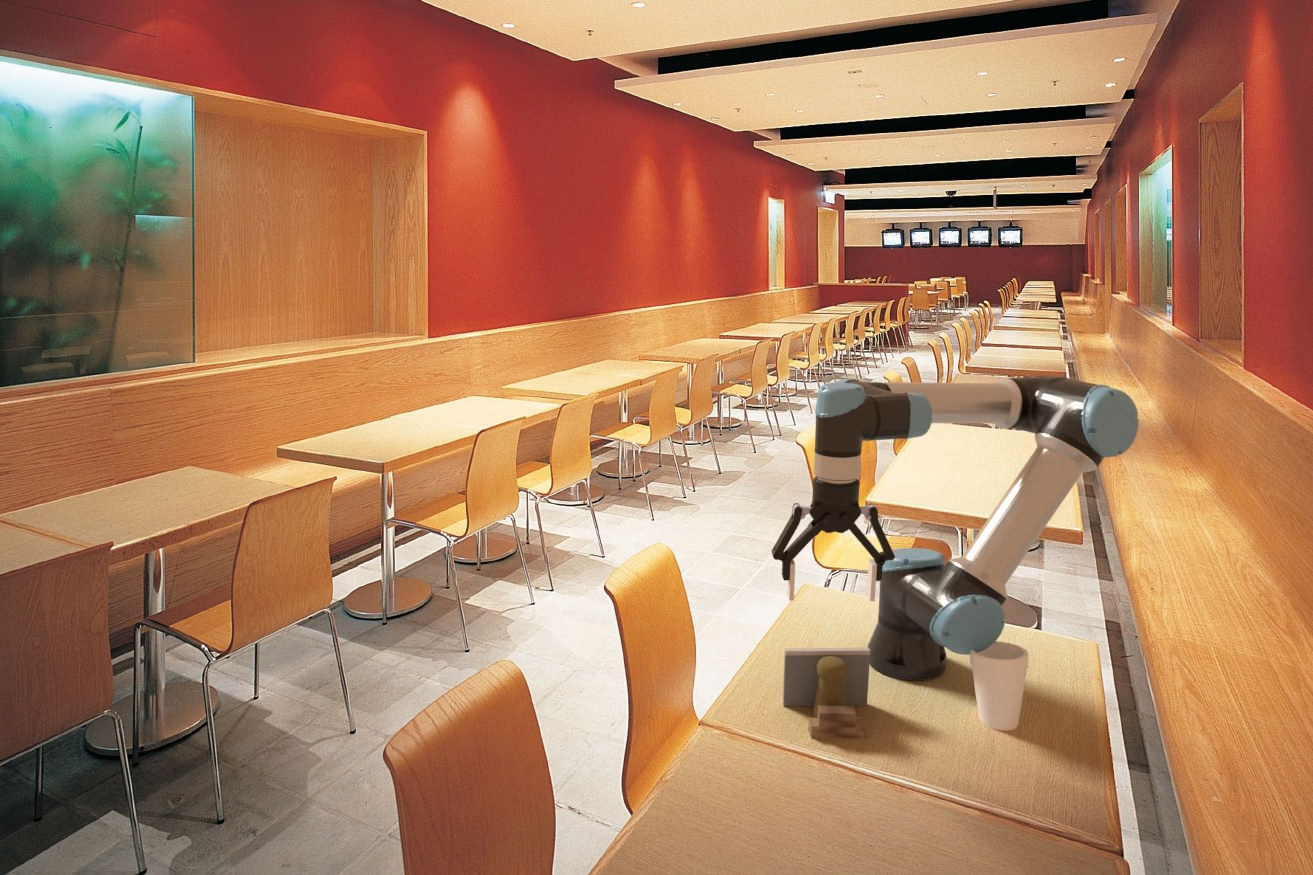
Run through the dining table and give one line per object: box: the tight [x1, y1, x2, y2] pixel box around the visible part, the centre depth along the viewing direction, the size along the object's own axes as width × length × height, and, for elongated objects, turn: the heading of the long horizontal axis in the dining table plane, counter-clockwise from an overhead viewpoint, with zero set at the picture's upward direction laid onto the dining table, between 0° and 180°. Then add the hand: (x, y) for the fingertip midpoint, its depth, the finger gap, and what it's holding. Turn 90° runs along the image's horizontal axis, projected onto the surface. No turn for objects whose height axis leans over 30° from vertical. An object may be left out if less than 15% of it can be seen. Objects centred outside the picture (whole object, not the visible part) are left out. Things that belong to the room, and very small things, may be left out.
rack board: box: [782, 646, 870, 707], centre depth 154 cm, size 15×1×11 cm, turn 91°
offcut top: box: [817, 705, 857, 727], centre depth 145 cm, size 6×2×2 cm, turn 87°
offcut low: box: [808, 717, 866, 739], centre depth 146 cm, size 9×3×2 cm, turn 90°
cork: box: [811, 656, 847, 718], centre depth 150 cm, size 6×6×11 cm
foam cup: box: [969, 640, 1029, 732], centre depth 149 cm, size 10×9×13 cm
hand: (830, 597), depth 147 cm, fingers open, 13 cm apart
